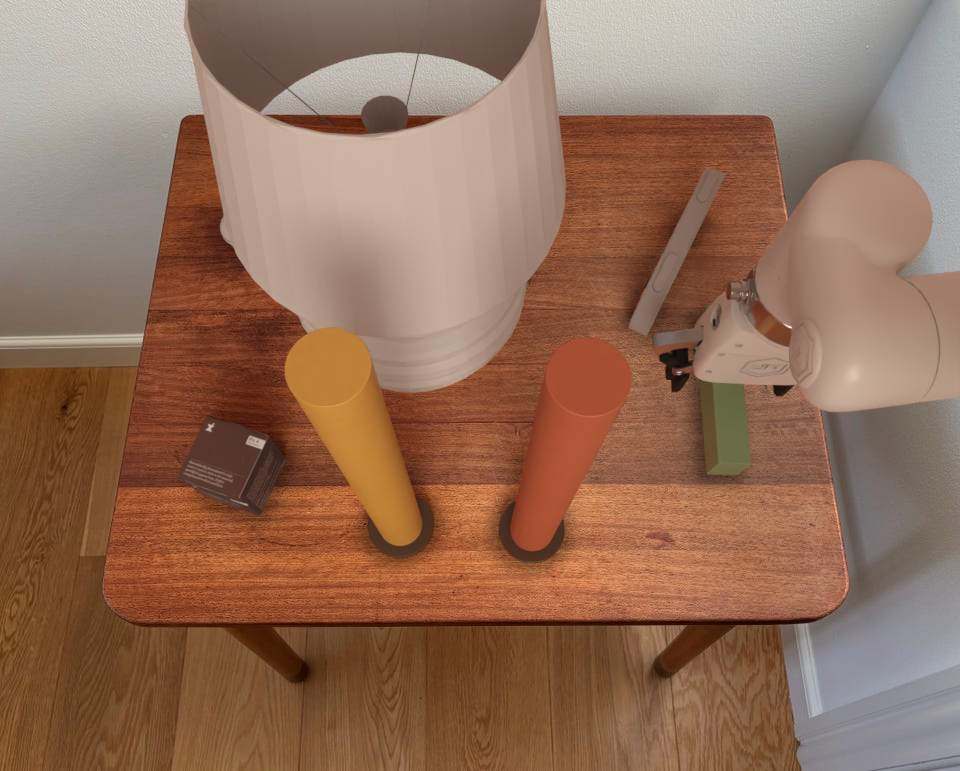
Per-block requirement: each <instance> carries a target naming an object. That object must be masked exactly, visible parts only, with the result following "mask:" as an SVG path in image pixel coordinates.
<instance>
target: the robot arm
mask: <svg viewBox="0 0 960 771" xmlns="http://www.w3.org/2000/svg"><path fill="white" fill-rule="evenodd" d="M933 218H934V216H933V210H932V206H931V201H930V200H929V196H928V195H927V193H926V192H925V190H924V189H923V187H922V186H921V184H919V182H917V180H916V179H915V178H914V177H912V176H911V175H910V174H909V173H908V172H906V171H904V170H903V169H901V168H900V167H897V166H895V165H893V164H890V163H887V162H885V161H880V160H874V159H857V160H850V161H845V162H842V163H840V164H838V165H835V166H833V167H832V168H829V169H828V170H826V171H825V172H824V173H823V174H821V175H820V176H818V178H817V179H816V180H815V181H814V182H813V184H812V185H811V186H810V187H809V188H808V190H807V191H806V193H805V194H804V195H803V197H802V198H801V200H800V201H799V203H798V204H797V205H796V206H795V208H794V210H793V211H792V212H791V214H790V216H789V217H788V218H787V219H786V221H785V223H784V224H783V225H782V227H781V228H780V229H779V231H778V232H777V234H776V235H775V237H774V238H773V240H772V241H771V243H770V244H769V245H768V247H767V248H766V250H765V251H764V252H763V254H762V255H761V257H760V258H759V260H758V261H757V262H756V264H755V265H754V267H752V268H751V270H750V271H749V273H747V275H746V276H745V278H742V279H739V280H737V281H736V282H734V281H731V282H730V281H728V283H727V284H726V288H725V291H723V292H722V293H721V294H720V295H719V296H718V297H716V298H715V299H714V301H713V302H712V303H711V304H709V305H710V306H709V307H708V309H707V310H706V311H705V312H704V313H703V315H702V316H701V317H700V319H699V320H698V322H697V323H696V322H695V323H696V325H695V324H694V326H693V327H690V328H684V329H678V330H671V331H665V332H660V333H654V334H652V336H651V343H652V344H651V346H652V351H653V353H654V354H655V355H656V356H658V358H659V359H658V361H659V362H660V363H662V364H663V365H664V366H665V367H664V368H665V369H664V375H665V376H664V377H665V380H666V381H670V389H671V393H678V392H681V390H682V389H683V387H684V386H685V385H686V384H687V382H688V381H689V379H690V377H691V374H690V373H693V375H694V376H695V377H696V378H697V379H701V380H703V381H707V382H715V383H733V384H744V385H756V386H757V385H759V386H762V385H763V386H772V388H773V395H774V396H776V397H783V396H785V395H786V394H787V393H788V392H790V390H792V389H793V388H794V387H795V386H797V387H798V389H799V391H800V393H801V395H802V396H803V398H804V399H805V400H806V401H807V402H808V403H809V404H810V405H811V406H813V407H815V408H816V409H818V410H820V411H824V412H828V413H850V412H852V413H853V412H859V411H860V412H861V411H868V410H876V409H883V408H889V407H890V408H891V407H897V406H905V405H911V404H916V403H917V404H918V403H925V402H933V401H941V400H949V399H958V398H959V399H960V270H956V271H954V270H953V271H946V272H945V271H944V272H937V273H929V274H921V275H914V276H913V275H912V276H904V277H899V276H898V275H899V274H900V273H901V272H903V271H904V270H905V269H906V268H907V267H908V266H909V265H910V264H911V263H913V261H914V260H915V259H916V258H917V257H918V256H919V255H920V253H922V251H923V250H924V249H925V247H926V245H927V243H928V241H929V240H930V237H931V233H932V229H933V225H934V224H933V223H934V219H933ZM692 349H693V350H694V351H693V352H694V356H693V359H692V360H690V358H689V350H692Z"/></svg>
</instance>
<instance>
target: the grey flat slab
mask: <svg viewBox="0 0 960 771" xmlns="http://www.w3.org/2000/svg"><path fill="white" fill-rule="evenodd" d="M725 177H726V174H725V173H724V172H722V171H719V170H717V169H714V168H712V167H708V166H707V167H705V169H704V170H703V172H702V174H701V176H700V178H699V180H698V182H697V183H696V185H695V187H694V190H693V191H692V193H691V195H690V196H689V199H688V201H687V204H686V206H685V207H684V209H683V211H682V214H681V216H680V218H679V219H678V222H677V224H676V226H675V227H674V230H673V231H672V233H671V234H670V236H669V240H668V242H667V244H666V245H665V247H664V248H663V250H662V252H661V256H660V257H659V260H658V262H657V264H656V265H655V268H654V269H653V270H652V272H651V273H650V275H649V276H648V277H647V278H648V279H647V280H646V283H645V285H644V287H643V289H644V290H643V291H642V292H641V295H640V296H639V298H638V299H637V302H636V303H635V306H634V308H633V310H634V311H633V313H632V316H631V318H630V320H629V323H628V325H627V327H628V329H629V330H631V331H633V332H635V333H637V334H639V335H641V336H644V337H646V336H648V335H649V333H650V331H651V329H652V327H653V324H654V323H655V321H656V319H657V317H658V314H659V312H660V310H661V309H662V306H663V304H664V302H665V301H666V298H667V296H668V294H669V292H670V290H671V287H672V286H673V283H674V282H675V279H676V278H677V275H678V273H679V271H680V270H681V267H682V265H683V263H684V261H685V259H686V257H687V255H688V253H689V251H690V249H691V247H692V244H693V243H694V240H695V239H696V236H697V234H698V233H699V230H700V228H701V226H702V224H703V222H704V221H705V219H706V216H707V214H708V212H709V210H710V208H711V206H712V204H713V202H714V199H715V198H716V195H717V193H718V191H719V189H720V187H721V185H722V183H723V181H724V179H725Z"/></svg>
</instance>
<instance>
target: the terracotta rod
mask: <svg viewBox="0 0 960 771" xmlns="http://www.w3.org/2000/svg"><path fill="white" fill-rule="evenodd" d="M632 380H633V379H632V372H631V368H630V365H629V363H628V361H627V359H626V358H625V356H624V355H623V354H622V352H621V351H620V350H619V349H618V348H617V347H615V346H614V345H612V344H611V343H609V342H607V341H605V340H604V339H603V340H602V339H600V338H596V337H589V336H588V337H587V336H586V337H585V336H584V337H576V338H573V339H570V340H567V341H565V342H563V343H562V344H560V345H559V346H557V348H555V349H554V350H553V351H552V353H551V354H550V356H549V358H548V359H547V362H546V364H545V369H544V373H543V378H542V382H541V386H540V392H539V396H538V400H537V404H536V410H535V413H534V418H533V421H532V428H531V431H530V434H529V435H530V436H529V440H528V444H527V449H526V454H525V458H524V461H523V467H522V471H521V476H520V481H519V485H518V490H517V494H516V498H515V501H513V502H512V503H510V504H509V505H508V506H507V507H506V508H505V510H503V512H502V515H501V517H500V520H499V524H498V536H499V540H500V543H501V544H502V547H503V549H504V550H505V551H506V553H507V554H508V555H509V556H510V557H512V558H513V559H514V560H516V561H518V562H521V563H524V564H530V565H531V564H532V565H533V564H540V563H543V562H547V561H548V560H550V559H551V558H552V557H553V556H555V555H556V554H557V552H559V549H561V547H562V544H563V542H564V539H565V532H566V531H565V529H566V528H565V527H566V526H565V524H564V523H565V522H564V517H565V516H566V513H567V511H568V510H569V508H570V506H571V504H572V502H573V500H574V499H575V496H576V495H577V493H578V490H579V489H580V487H581V485H582V483H583V481H584V479H585V477H586V476H587V474H588V472H589V470H590V468H591V466H592V464H593V462H594V461H595V459H596V457H597V455H598V454H599V451H600V449H601V447H602V445H603V444H604V442H605V440H606V438H607V436H608V434H609V432H610V431H611V428H612V427H613V425H614V423H615V421H616V420H617V417H618V415H619V413H620V412H621V410H622V408H623V407H624V404H625V403H626V400H627V399H628V396H629V395H630V392H631V388H632V382H633V381H632Z"/></svg>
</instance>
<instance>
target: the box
mask: <svg viewBox="0 0 960 771" xmlns="http://www.w3.org/2000/svg"><path fill="white" fill-rule="evenodd" d="M286 460H287V457H285V455H284V454H283V453H282V451H281V450H280V449H279V447H278V446H277V445H276V444H275V442H274V441H273V439H271V437H270V435H269V434H265V433H262V432H261V431H256V430H254V429H251V428H248V427H245V426H243V425H241V424H238V423H234V422H231V421H227V420H224V419H222V418H219V417H216V416H213V415H210V414H209V415H206V416H205V419H204V421H203V423H202V424H201V427H200V429H199V430H198V433H197V435H196V437H195V439H194V441H193V443H192V444H191V447H190V449H189V451H188V453H187V455H186V456H185V459H184V461H183V463H182V464H181V467H180V469H179V470H178V472H177V474H176V477H177V478H179V479H181V480H182V481H183V482H185V483H186V484H187V485H188V486H190V487H191V488H192V489H194V490H196V491H197V492H198V493H200V494H201V495H203V496H204V497H206V498H207V499H211V500H214V501H216V502H219V503H222V504H224V505H227V506H229V507H232V508H235V509H238V510H242V511H244V512H246V513H249V514H252V515H256V516H258V517H260V516H261V515H262V514H263V512H264V510H265V508H266V506H267V503H268V501H269V498H270V496H271V493H272V491H273V489H274V487H275V485H276V482H277V480H278V478H279V476H280V474H281V471H282V470H283V468H284V465H285V463H286Z"/></svg>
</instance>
